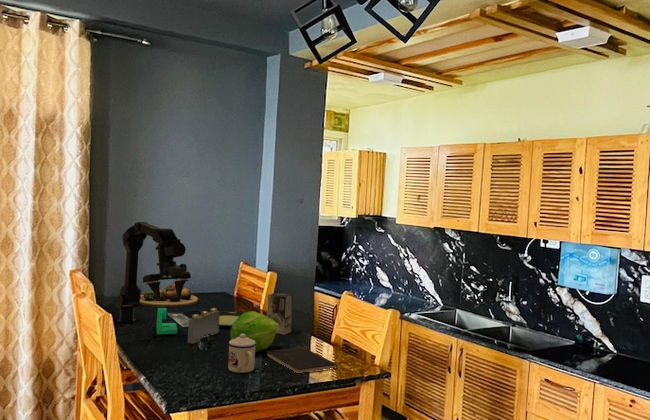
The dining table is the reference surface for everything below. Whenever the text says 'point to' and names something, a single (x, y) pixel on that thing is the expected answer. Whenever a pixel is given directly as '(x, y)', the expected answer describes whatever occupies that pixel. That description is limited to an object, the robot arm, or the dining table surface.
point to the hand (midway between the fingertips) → (169, 299)
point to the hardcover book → (300, 359)
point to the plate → (228, 318)
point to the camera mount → (164, 327)
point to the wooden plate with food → (168, 298)
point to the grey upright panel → (203, 325)
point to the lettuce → (255, 329)
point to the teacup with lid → (241, 354)
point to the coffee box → (280, 311)
